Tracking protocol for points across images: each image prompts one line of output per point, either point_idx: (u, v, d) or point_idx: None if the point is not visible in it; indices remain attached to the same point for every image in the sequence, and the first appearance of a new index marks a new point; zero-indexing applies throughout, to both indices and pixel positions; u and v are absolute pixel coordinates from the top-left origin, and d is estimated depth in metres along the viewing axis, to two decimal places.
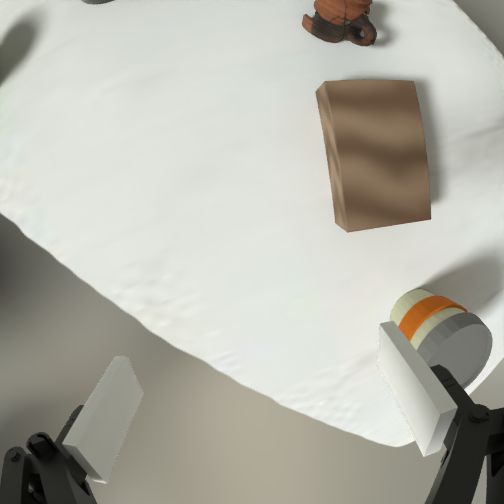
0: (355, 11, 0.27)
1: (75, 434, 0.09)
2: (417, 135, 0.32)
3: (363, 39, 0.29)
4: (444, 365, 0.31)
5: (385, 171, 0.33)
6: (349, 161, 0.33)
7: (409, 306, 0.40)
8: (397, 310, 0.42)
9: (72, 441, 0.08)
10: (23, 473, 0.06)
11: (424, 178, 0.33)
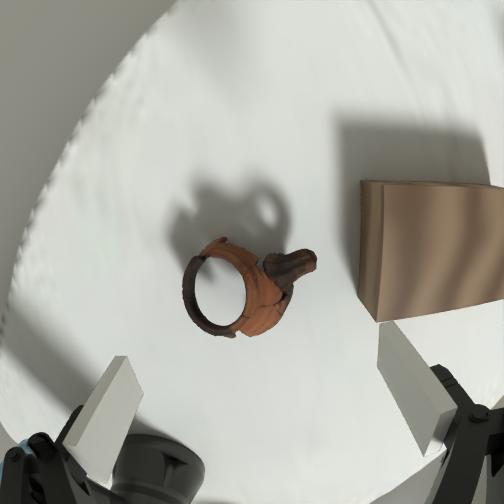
0: (266, 289, 0.24)
1: (75, 434, 0.09)
2: (453, 198, 0.22)
3: None
4: None
5: (479, 253, 0.23)
6: (461, 297, 0.25)
7: None
8: None
9: (72, 441, 0.08)
10: (23, 473, 0.06)
11: (492, 196, 0.22)
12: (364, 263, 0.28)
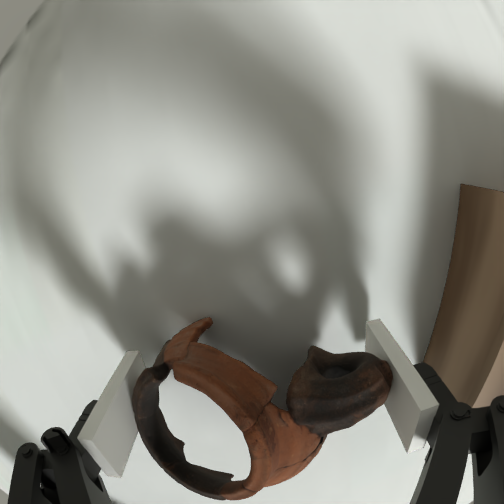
0: (292, 443, 0.10)
1: (90, 428, 0.09)
2: None
3: None
4: None
5: None
6: None
7: None
8: None
9: (87, 435, 0.09)
10: (35, 470, 0.07)
11: None
12: (449, 330, 0.14)
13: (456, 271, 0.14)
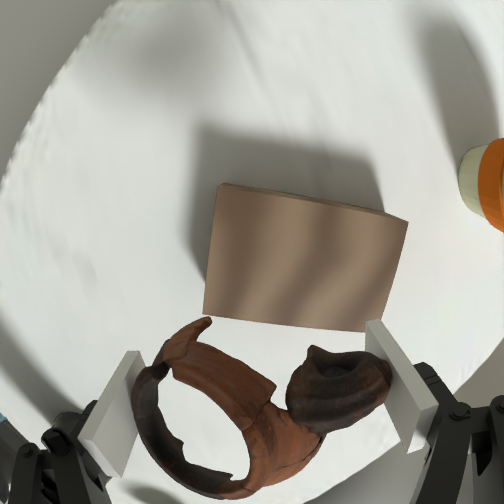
0: (291, 442, 0.10)
1: (90, 428, 0.09)
2: (299, 211, 0.26)
3: None
4: None
5: (331, 275, 0.28)
6: (304, 316, 0.29)
7: (479, 208, 0.28)
8: (477, 213, 0.30)
9: (88, 435, 0.09)
10: (35, 470, 0.07)
11: (358, 218, 0.26)
12: None
13: None
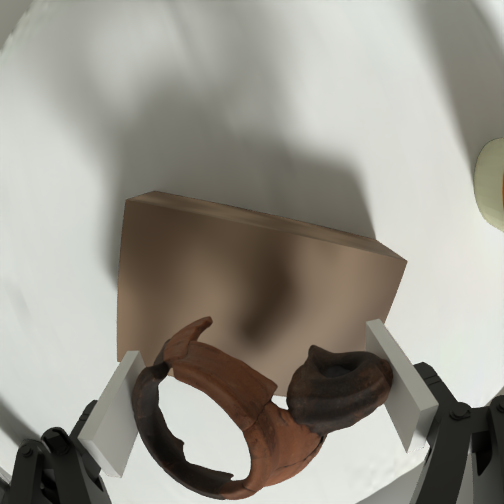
0: (292, 442, 0.10)
1: (90, 428, 0.09)
2: (239, 240, 0.18)
3: None
4: None
5: (286, 331, 0.19)
6: None
7: (503, 223, 0.19)
8: (498, 228, 0.21)
9: (88, 435, 0.09)
10: (35, 470, 0.07)
11: (330, 254, 0.18)
12: None
13: None
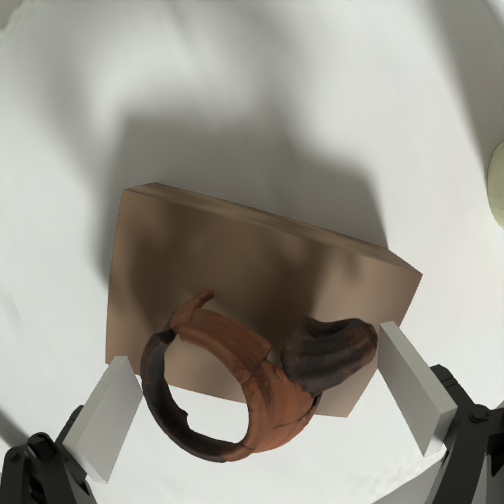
0: (287, 400, 0.12)
1: (75, 434, 0.09)
2: (246, 241, 0.16)
3: None
4: None
5: None
6: None
7: None
8: None
9: (72, 441, 0.08)
10: (23, 473, 0.06)
11: (344, 263, 0.16)
12: None
13: None
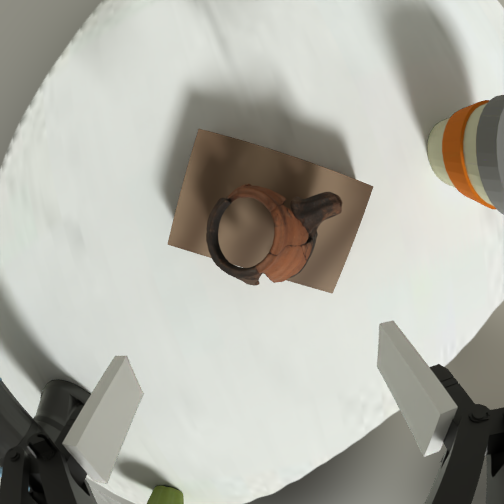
0: (294, 228, 0.24)
1: (75, 434, 0.09)
2: (267, 159, 0.28)
3: (336, 213, 0.25)
4: None
5: None
6: None
7: (447, 176, 0.29)
8: (448, 183, 0.31)
9: (72, 441, 0.08)
10: (23, 473, 0.06)
11: (322, 174, 0.28)
12: None
13: None
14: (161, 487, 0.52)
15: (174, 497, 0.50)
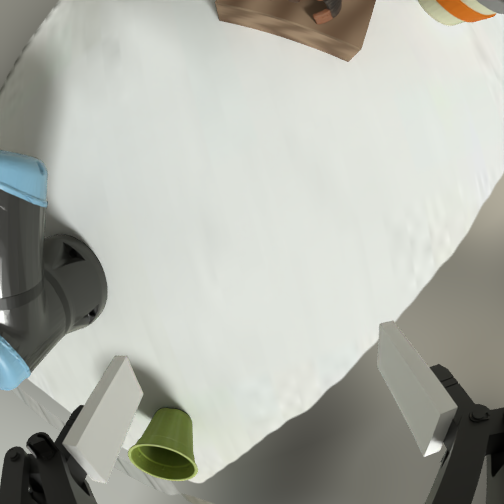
0: None
1: (75, 434, 0.09)
2: None
3: None
4: None
5: None
6: (297, 15, 0.27)
7: (436, 4, 0.26)
8: (439, 15, 0.28)
9: (72, 441, 0.08)
10: (23, 473, 0.06)
11: None
12: None
13: None
14: (164, 409, 0.48)
15: (180, 420, 0.46)
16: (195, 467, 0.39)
